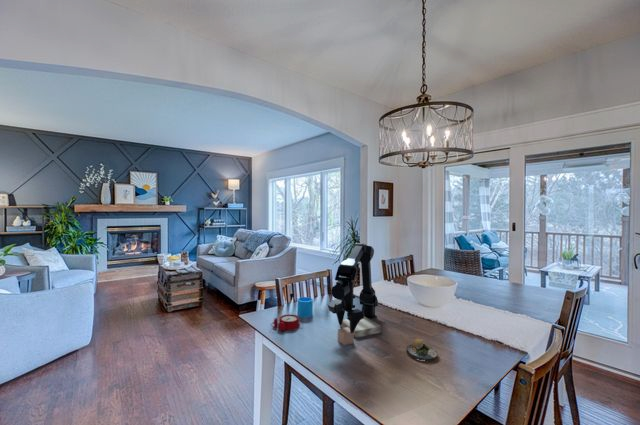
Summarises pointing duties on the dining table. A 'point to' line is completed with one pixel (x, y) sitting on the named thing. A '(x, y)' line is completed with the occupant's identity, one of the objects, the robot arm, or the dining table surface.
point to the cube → (345, 336)
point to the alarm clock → (287, 322)
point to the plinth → (363, 327)
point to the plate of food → (421, 351)
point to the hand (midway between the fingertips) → (345, 328)
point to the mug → (305, 307)
